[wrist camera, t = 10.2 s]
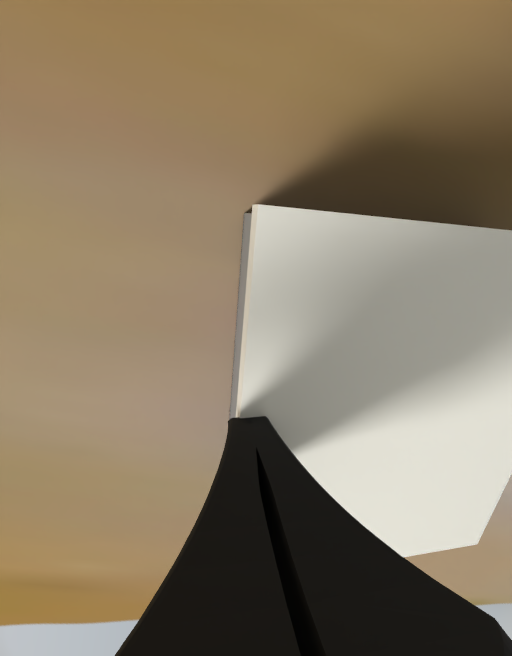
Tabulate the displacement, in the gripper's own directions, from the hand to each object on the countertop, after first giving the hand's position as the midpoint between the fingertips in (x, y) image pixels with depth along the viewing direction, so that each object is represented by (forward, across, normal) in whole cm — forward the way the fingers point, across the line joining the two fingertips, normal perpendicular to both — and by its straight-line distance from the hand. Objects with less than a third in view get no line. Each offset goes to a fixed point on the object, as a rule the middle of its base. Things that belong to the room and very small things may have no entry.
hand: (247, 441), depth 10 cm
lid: (+1, -6, 0) cm, 6 cm away
